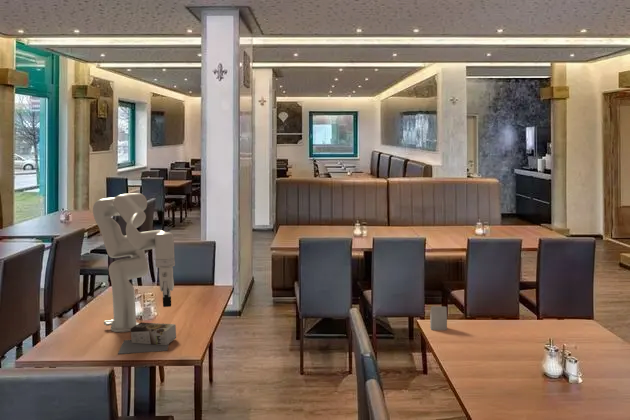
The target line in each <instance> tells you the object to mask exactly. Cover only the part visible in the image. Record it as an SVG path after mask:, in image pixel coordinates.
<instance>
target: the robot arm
mask: <svg viewBox="0 0 630 420" xmlns="http://www.w3.org/2000/svg"><path fill="white" fill-rule="evenodd" d="M147 206H148V200H147V198H146V196H145V195H144V194H142V193H140V192H131V193H130V192H129V193H122V194H118V195H116V196H114V197H105V198H100V199H98V200H96V201H95V202H94V203H93V206H92V213H93V214H92V216H93V219H94V221H95V223H96V225H97V227H98V228H99V230H100V234H101V236H102V240H103V243H104V247H105V251H106V253H107V255H108V257H109V258H112V259H117V258H122V259H117V260H115V261H113V262H111V263H110V264H109V266H108V273H109V275H108V276H109V278H110V283H111V291H112V293H111V295H112V309H113V319H110V320H108V319H107V320H103V324H104V326H105V327H107V326H110V330H111V332H115V333H128V332H131V328H133V327H134V326H136V325H138V324H140V323H139V322H137V313H136V312H137V311H136V296H135V295H136V293H135V288H134V286H133V284H132V283H131V282H130V280H134V279H137V278H142V277H146V276H147V275H148V273H149V264H148V259H147V257H146V256H147V255H146V251H147V250H153V249H154V250H155V267H156V268H158V273H159V274H158V275H159V276H158V277H159V290H160V291H161V292H162V307H163V308H170V307H172V296H171V292H172V291H173V290H174V287H175V281H174V279H175V278H174V268H173V267H175V266H176V262H175V236H174V234H173V233H172V232H170V231H165V230H164V229H163V230H162V229H156V230H155V229H154V230H148V231H139V230H138V229H137V228H140V227H141V226H142V225H143V223H144V222H145V221H146V218H147V215H146V212H145V210H147ZM113 217H121V218H122V219H123V220H124V222H125V223H126V226H125V234H126V235H124V234H123V232H122V229H121V226H120V224H119V223H118V221H116V220H115V219H113ZM123 257H127V258H123Z"/></svg>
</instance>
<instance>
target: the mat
mask: <svg viewBox="0 0 630 420" xmlns="http://www.w3.org/2000/svg"><path fill="white" fill-rule="evenodd" d="M169 345H170V343H169V344H168V345H155V344H139V343H132V342H131V339H123V342H122V343H121V346H120V348H119V350H118V352H117V355H126V354H138V353H139V354H140V353H141V354H142V353H154V352H155V353H157V352H166V351H167V352H168V349H169Z"/></svg>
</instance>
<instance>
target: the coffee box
mask: <svg viewBox="0 0 630 420" xmlns="http://www.w3.org/2000/svg"><path fill="white" fill-rule="evenodd" d="M176 326H177V325H176V323H159V322H158V323H155V322H140V323H139V324H138V325H136V326H134V327H133V328H131V331H130V338H131V339H130V340H131V342H132V343H139V344H155V345H168V344H169V345H170V343H172V342H173V341H174V340H176V339H177V327H176Z"/></svg>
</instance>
